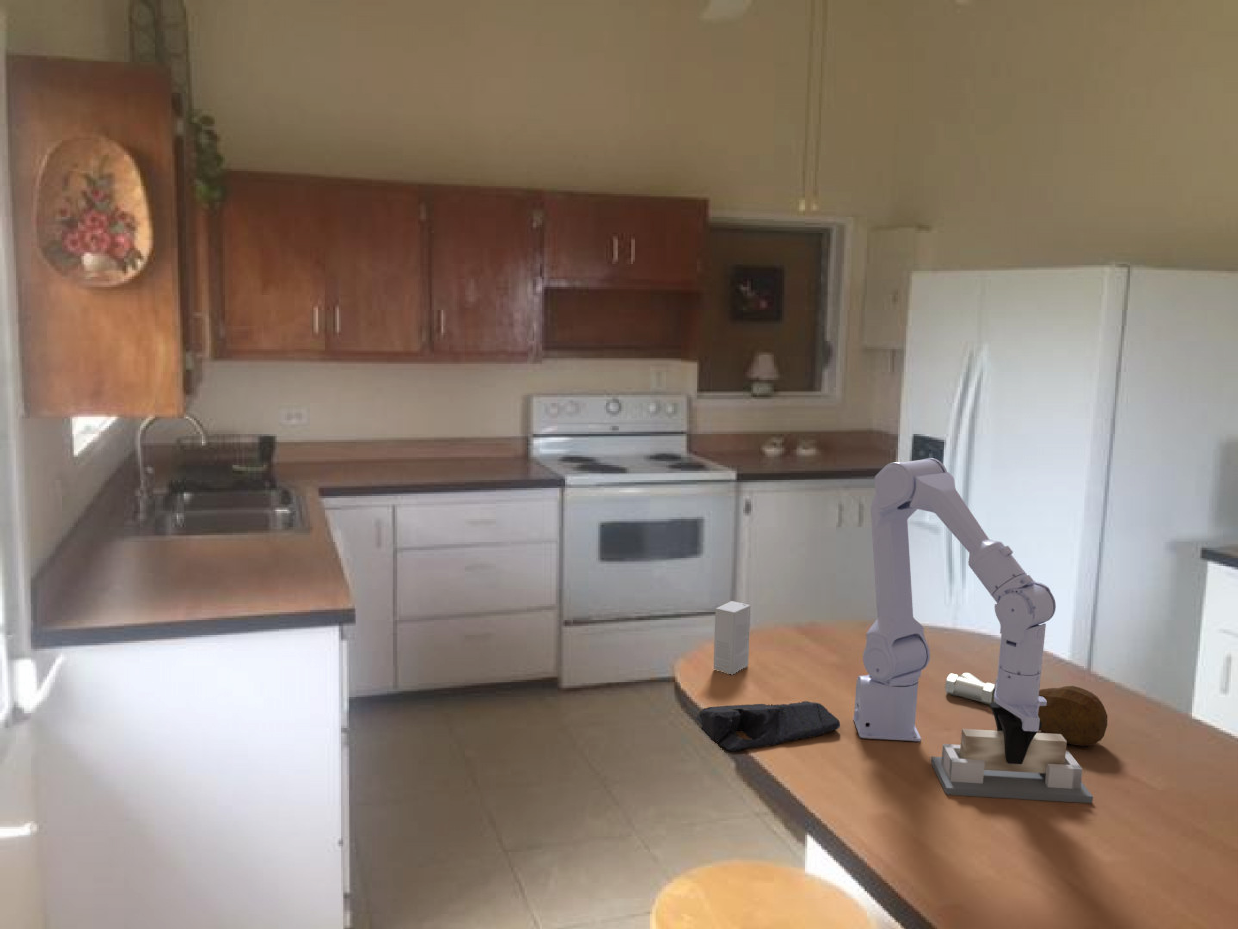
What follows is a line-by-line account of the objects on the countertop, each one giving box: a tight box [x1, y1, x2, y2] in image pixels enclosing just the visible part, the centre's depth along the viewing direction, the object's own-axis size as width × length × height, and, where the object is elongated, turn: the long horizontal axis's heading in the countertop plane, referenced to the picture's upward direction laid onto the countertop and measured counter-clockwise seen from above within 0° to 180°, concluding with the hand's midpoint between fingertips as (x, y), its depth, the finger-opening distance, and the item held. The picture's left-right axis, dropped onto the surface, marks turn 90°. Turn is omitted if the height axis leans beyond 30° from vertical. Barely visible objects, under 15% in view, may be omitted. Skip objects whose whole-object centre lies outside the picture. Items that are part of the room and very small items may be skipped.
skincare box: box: [713, 600, 751, 676], centre depth 194 cm, size 6×4×12 cm
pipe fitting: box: [944, 672, 995, 706], centre depth 185 cm, size 8×4×7 cm
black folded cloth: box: [694, 700, 841, 752], centre depth 170 cm, size 15×22×5 cm
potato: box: [1038, 685, 1108, 747], centre depth 168 cm, size 8×12×9 cm
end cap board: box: [930, 743, 1094, 804], centre depth 153 cm, size 20×10×4 cm, turn 86°
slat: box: [959, 728, 1068, 773], centre depth 152 cm, size 14×2×5 cm, turn 86°
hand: (1011, 758), depth 152 cm, fingers closed on slat, 2 cm apart
